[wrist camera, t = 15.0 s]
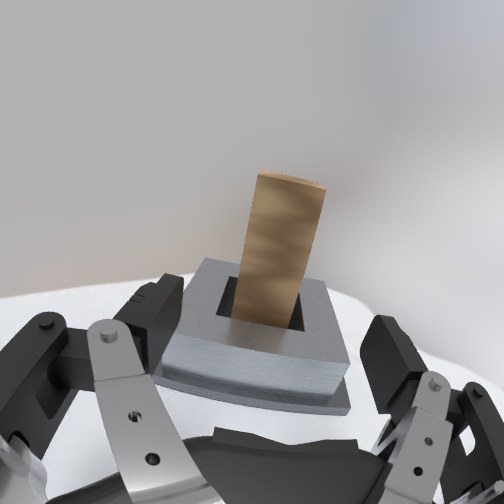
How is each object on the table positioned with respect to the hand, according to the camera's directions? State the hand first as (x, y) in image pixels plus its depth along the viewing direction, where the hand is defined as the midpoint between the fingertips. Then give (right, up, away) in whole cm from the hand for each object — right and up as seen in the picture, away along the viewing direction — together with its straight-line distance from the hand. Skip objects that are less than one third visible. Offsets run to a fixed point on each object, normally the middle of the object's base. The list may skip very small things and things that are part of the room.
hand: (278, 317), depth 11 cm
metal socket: (-1, -6, +13) cm, 15 cm away
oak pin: (-1, -5, +13) cm, 14 cm away
